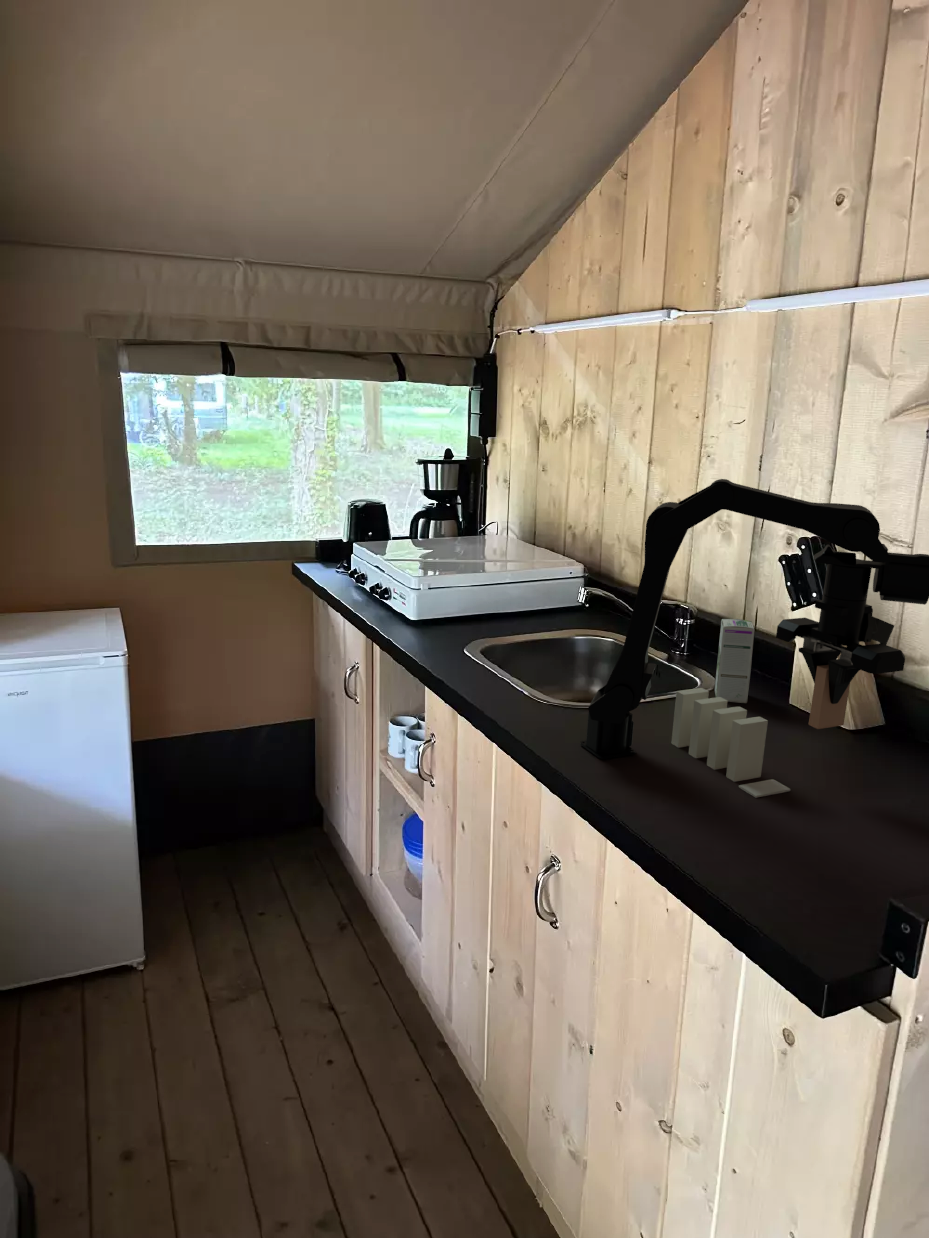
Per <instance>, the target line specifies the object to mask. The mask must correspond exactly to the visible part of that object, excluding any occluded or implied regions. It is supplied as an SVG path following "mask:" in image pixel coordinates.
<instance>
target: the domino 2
mask: <svg viewBox="0 0 929 1238" xmlns="http://www.w3.org/2000/svg"><path fill="white" fill-rule="evenodd" d="M728 703H729V702H728V701H727V700H725V699H723V698H721V697H716V696H715V697H711V698H709V697H708V699H701V700H694V708H693V717H692V727H691V736H690V745H689V746H688V755H690V756H691V757H693V758H694V759H700V758H708V750H709V741H710V732H711V723H712V714H713V710H717V709H724V708H728Z"/></svg>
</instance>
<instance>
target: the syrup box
mask: <svg viewBox="0 0 929 1238" xmlns="http://www.w3.org/2000/svg"><path fill="white" fill-rule="evenodd" d="M719 632H720V633H719V642H718V653H717V663H716V674H715V683H714V694H715V698H716V697H721V698H723V699H725V700H727V701H728V702H727V703H739V704H740V703H741V704H747V703H748V698H749V697H748V695H749V688H750V681H751V680H750V679H751V671H752V670H751V669H752V661H753V660H752V659H753V649H754V638H755V632H756V631H755V627H754V625H753V621H752V620H747V619H738V618H737V619H736V618H722V619H721V621H720V631H719Z"/></svg>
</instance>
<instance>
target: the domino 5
mask: <svg viewBox="0 0 929 1238" xmlns="http://www.w3.org/2000/svg"><path fill="white" fill-rule="evenodd" d="M813 685H814V686H813V693H812V699H811V706H810V712H809V717H808V718H809V719H808V726H811V727H812V728H814V729H816V730H822V729H827V728H828V729H829V728H834V727H841V726H844V724H845V718H846V711H847V706H848V701H849V693H850V687H851V683H850V684H849V685H848V687H847V689H846V690H845V692H844V694H843V695H842V697H841V699H840V700H839V702H838V703H837V704H832V703H831V702H830V695H829V665H821V666H817V671H816V677H815V684H814V683H813Z"/></svg>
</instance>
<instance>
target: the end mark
mask: <svg viewBox="0 0 929 1238" xmlns="http://www.w3.org/2000/svg"><path fill="white" fill-rule="evenodd" d="M738 788H739V789H740V790H742V791H744V792H746V793H747V794H748V795H750V796H752V797H754V798H760V797H766V796H771V795H772V796H773V795H777V794H782V793H787V792H791V788H790V787H788V786H786V785H784V784H783V783H781V782H779V781H777V780H775V779H773V778H772V779H766V780H761V781H756V782H749V783H745V784H740V785H739V784H738Z"/></svg>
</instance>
